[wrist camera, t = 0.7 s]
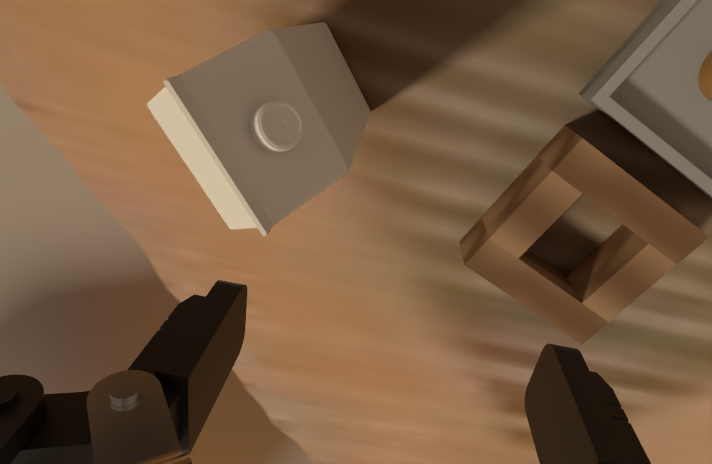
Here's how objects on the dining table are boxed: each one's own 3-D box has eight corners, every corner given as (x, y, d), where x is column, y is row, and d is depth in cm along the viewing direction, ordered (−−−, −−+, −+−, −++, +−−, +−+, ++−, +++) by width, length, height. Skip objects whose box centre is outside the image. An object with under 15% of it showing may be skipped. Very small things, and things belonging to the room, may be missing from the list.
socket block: (564, 125, 35) (582, 138, 32) (680, 215, 37) (709, 236, 34) (459, 241, 40) (464, 264, 36) (566, 316, 42) (581, 344, 38)
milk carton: (292, 152, 38) (199, 267, 21) (244, 69, 36) (94, 123, 19) (371, 111, 36) (339, 201, 19) (325, 21, 34) (242, 31, 17)
